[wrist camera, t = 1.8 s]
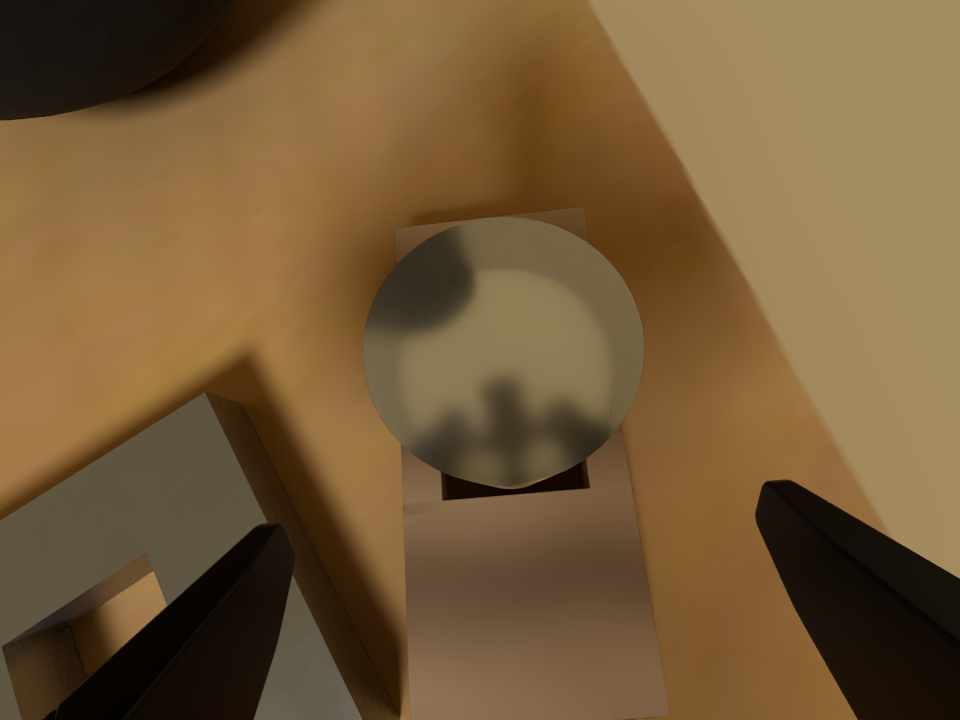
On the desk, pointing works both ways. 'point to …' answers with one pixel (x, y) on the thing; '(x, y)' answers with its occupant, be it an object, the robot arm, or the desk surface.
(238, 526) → the block
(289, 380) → the desk surface
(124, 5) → the sphere
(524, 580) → the wooden block with hole
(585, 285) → the steel axle
